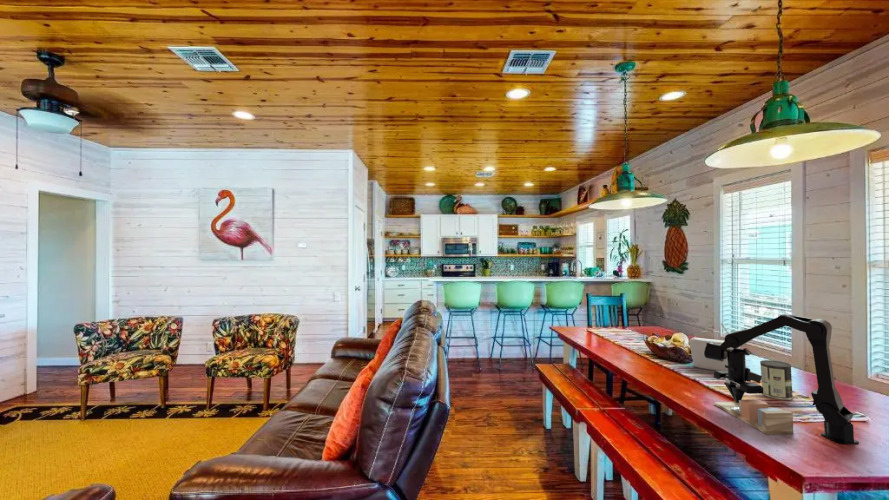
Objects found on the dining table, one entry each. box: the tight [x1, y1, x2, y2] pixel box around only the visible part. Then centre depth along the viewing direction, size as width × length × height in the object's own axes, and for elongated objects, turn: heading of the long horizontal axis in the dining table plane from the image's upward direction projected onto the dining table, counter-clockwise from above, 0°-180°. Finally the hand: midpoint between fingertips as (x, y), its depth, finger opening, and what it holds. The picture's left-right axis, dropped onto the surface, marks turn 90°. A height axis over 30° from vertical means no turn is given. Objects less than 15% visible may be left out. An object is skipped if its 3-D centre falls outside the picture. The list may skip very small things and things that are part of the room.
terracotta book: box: [741, 399, 769, 421], centre depth 139 cm, size 4×7×6 cm, turn 89°
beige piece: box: [714, 398, 795, 436], centre depth 142 cm, size 26×9×8 cm, turn 179°
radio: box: [688, 322, 741, 371], centre depth 200 cm, size 22×8×25 cm, turn 43°
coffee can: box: [759, 359, 794, 401], centre depth 162 cm, size 10×10×14 cm
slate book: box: [758, 407, 781, 427], centre depth 132 cm, size 3×7×6 cm, turn 89°
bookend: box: [730, 399, 759, 415], centre depth 144 cm, size 6×7×6 cm
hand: (737, 403), depth 147 cm, fingers closed
